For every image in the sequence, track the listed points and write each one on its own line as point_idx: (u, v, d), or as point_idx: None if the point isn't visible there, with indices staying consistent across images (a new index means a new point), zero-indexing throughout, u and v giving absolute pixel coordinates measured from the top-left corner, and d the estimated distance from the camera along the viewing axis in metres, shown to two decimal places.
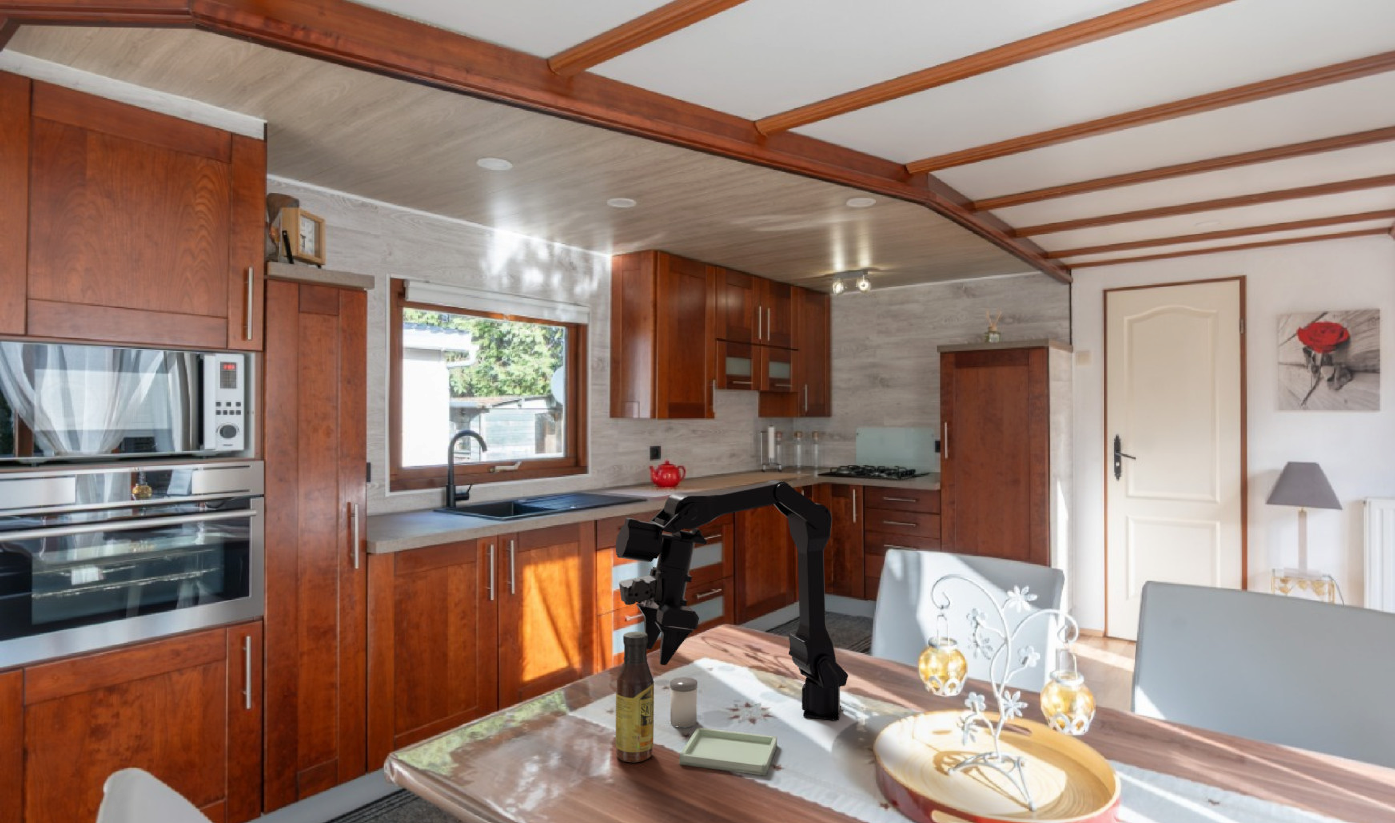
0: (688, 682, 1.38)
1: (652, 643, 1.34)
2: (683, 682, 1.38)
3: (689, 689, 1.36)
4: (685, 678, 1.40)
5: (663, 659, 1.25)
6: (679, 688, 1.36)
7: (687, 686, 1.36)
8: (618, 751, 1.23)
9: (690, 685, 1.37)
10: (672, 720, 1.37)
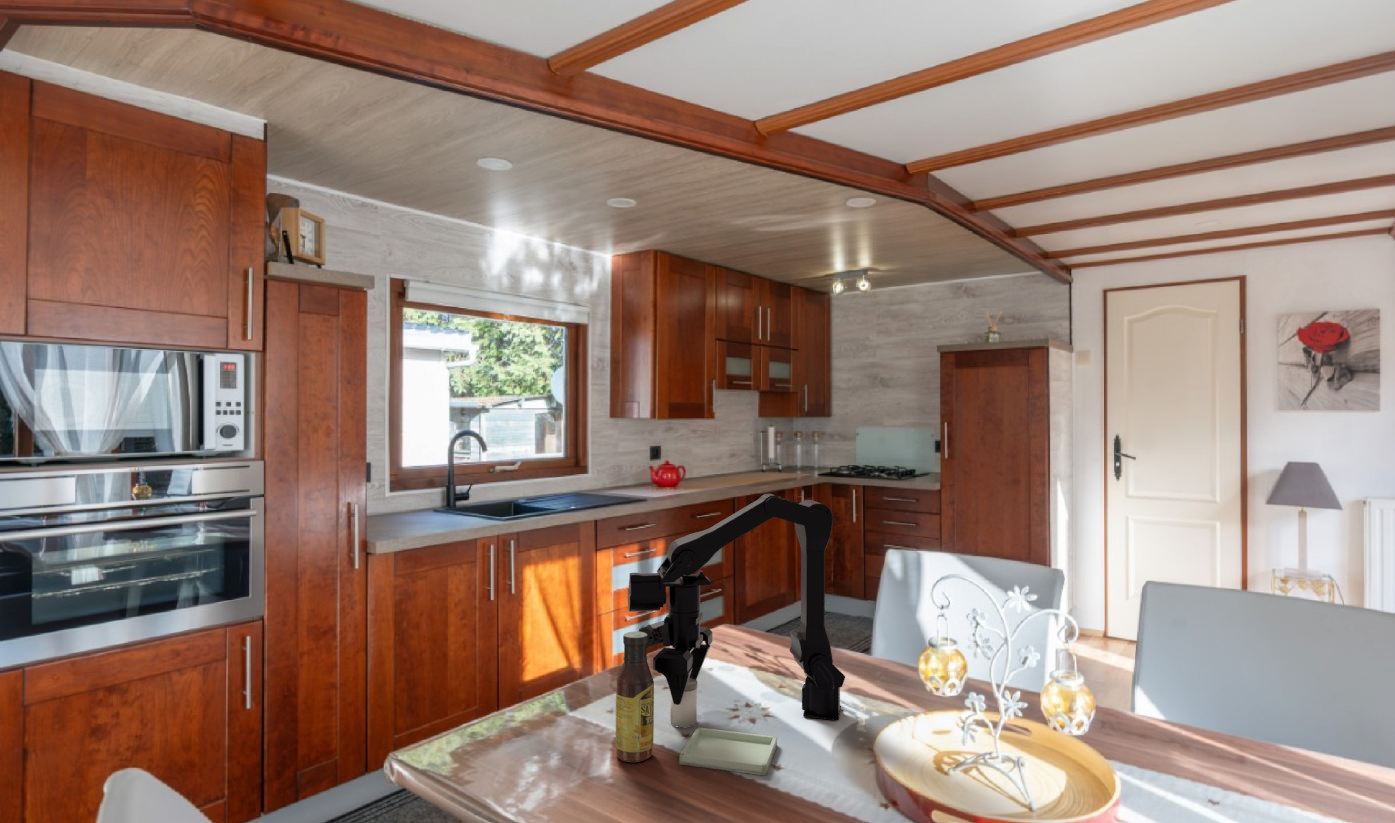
0: (688, 682, 1.38)
1: None
2: None
3: (689, 689, 1.36)
4: None
5: (675, 699, 1.33)
6: None
7: (687, 686, 1.36)
8: (618, 751, 1.23)
9: (690, 685, 1.37)
10: (672, 720, 1.37)
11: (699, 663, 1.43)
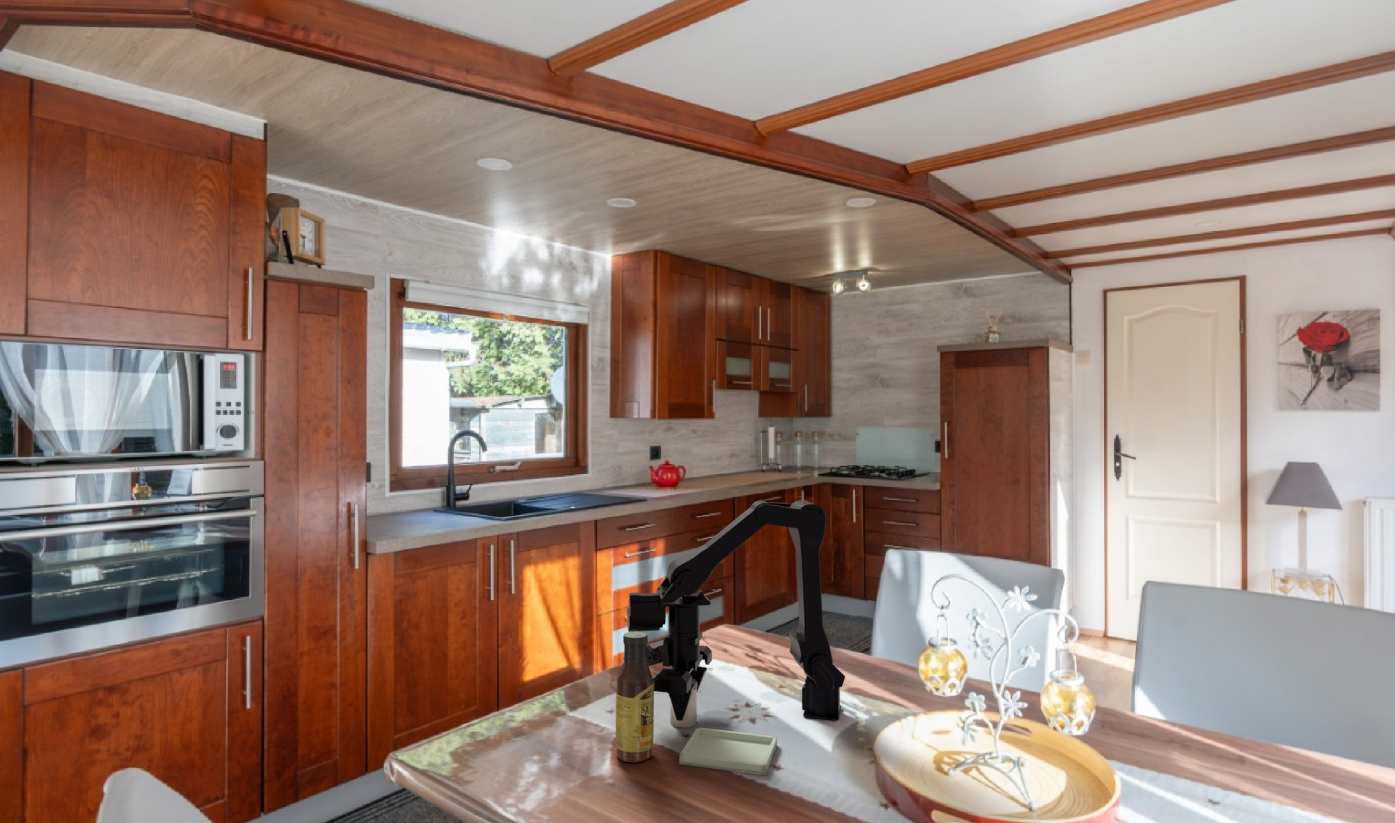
0: None
1: None
2: None
3: None
4: None
5: (677, 715, 1.35)
6: None
7: None
8: (618, 751, 1.23)
9: None
10: (672, 720, 1.37)
11: None
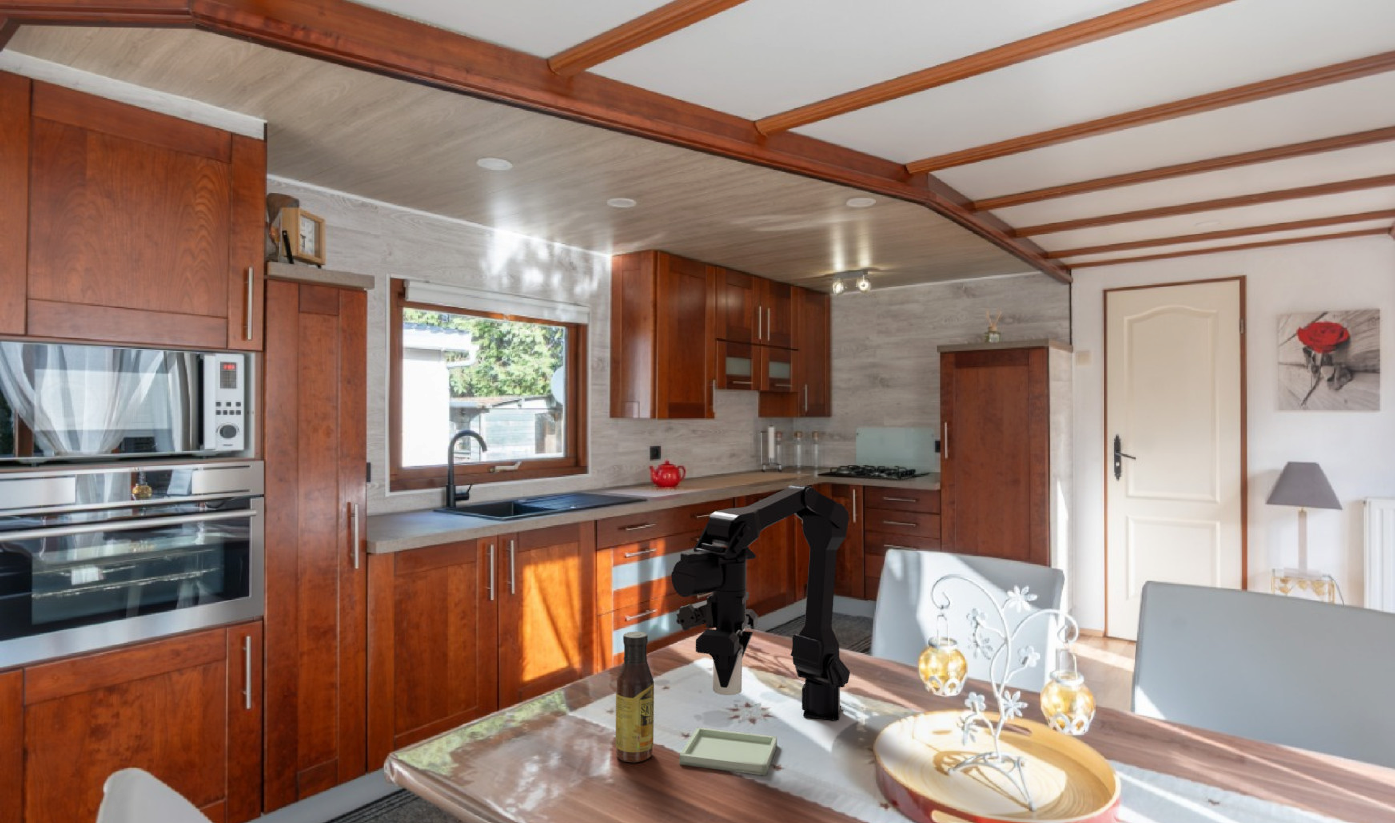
0: None
1: None
2: None
3: None
4: None
5: (722, 682, 1.23)
6: None
7: None
8: (618, 751, 1.23)
9: None
10: (715, 687, 1.25)
11: None
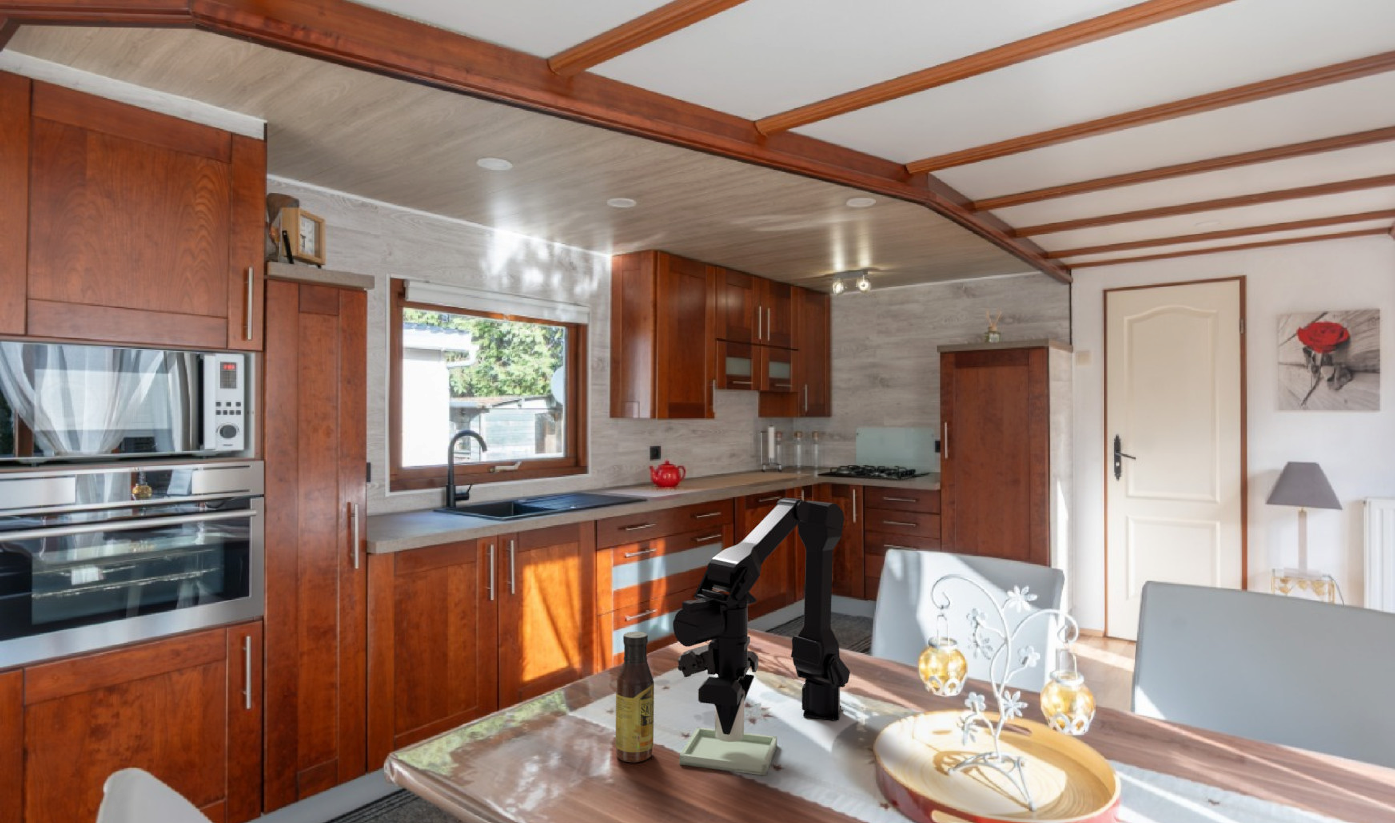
0: None
1: None
2: None
3: None
4: None
5: (724, 729, 1.22)
6: None
7: None
8: (618, 751, 1.23)
9: None
10: (717, 733, 1.24)
11: None
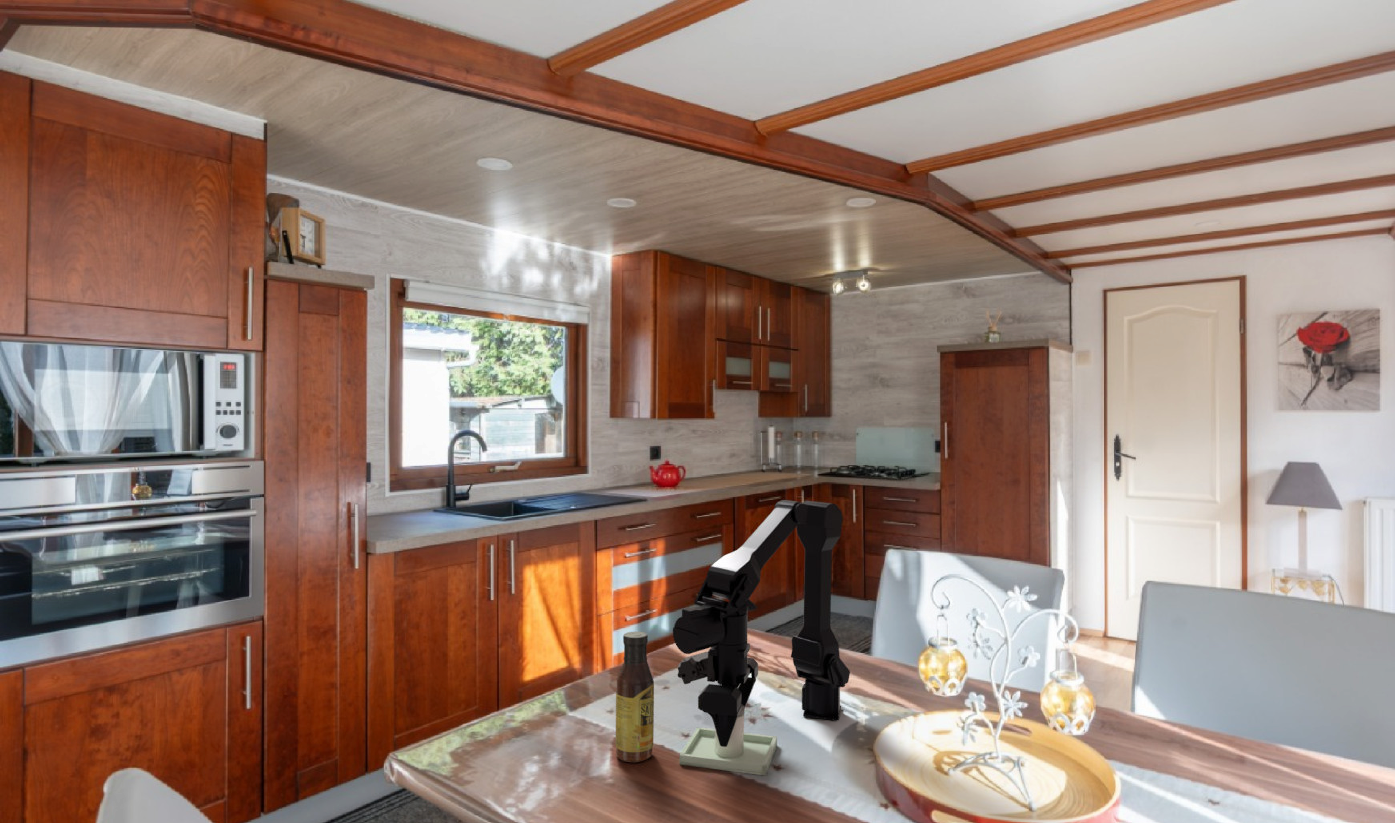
0: None
1: None
2: None
3: None
4: None
5: (721, 741, 1.20)
6: None
7: None
8: (618, 751, 1.23)
9: None
10: (717, 749, 1.24)
11: (744, 699, 1.29)
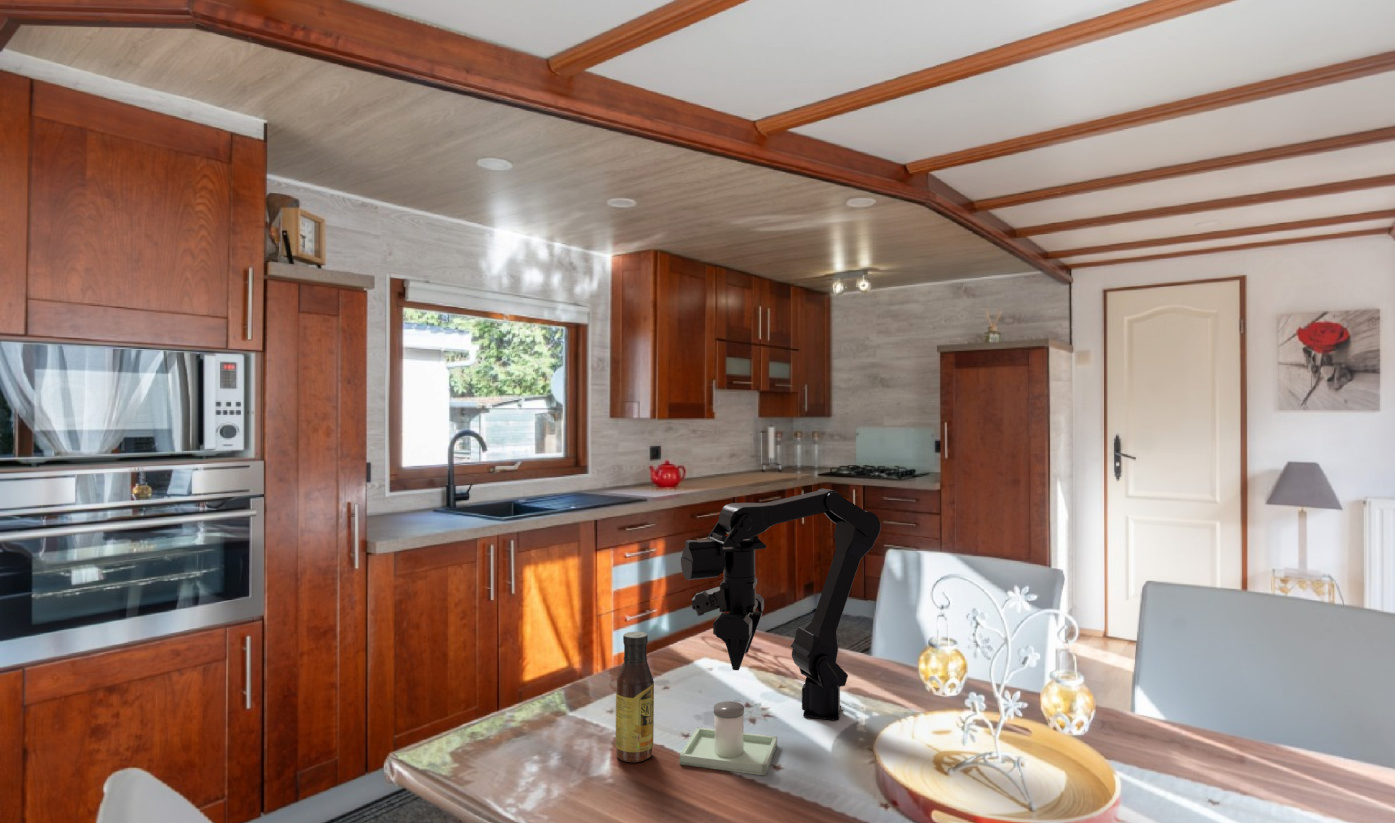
0: (734, 707, 1.25)
1: (747, 647, 1.40)
2: (728, 707, 1.25)
3: (736, 715, 1.23)
4: (730, 702, 1.27)
5: (734, 665, 1.31)
6: (725, 714, 1.23)
7: (733, 712, 1.23)
8: (618, 751, 1.23)
9: (737, 711, 1.23)
10: (717, 750, 1.24)
11: (752, 630, 1.41)
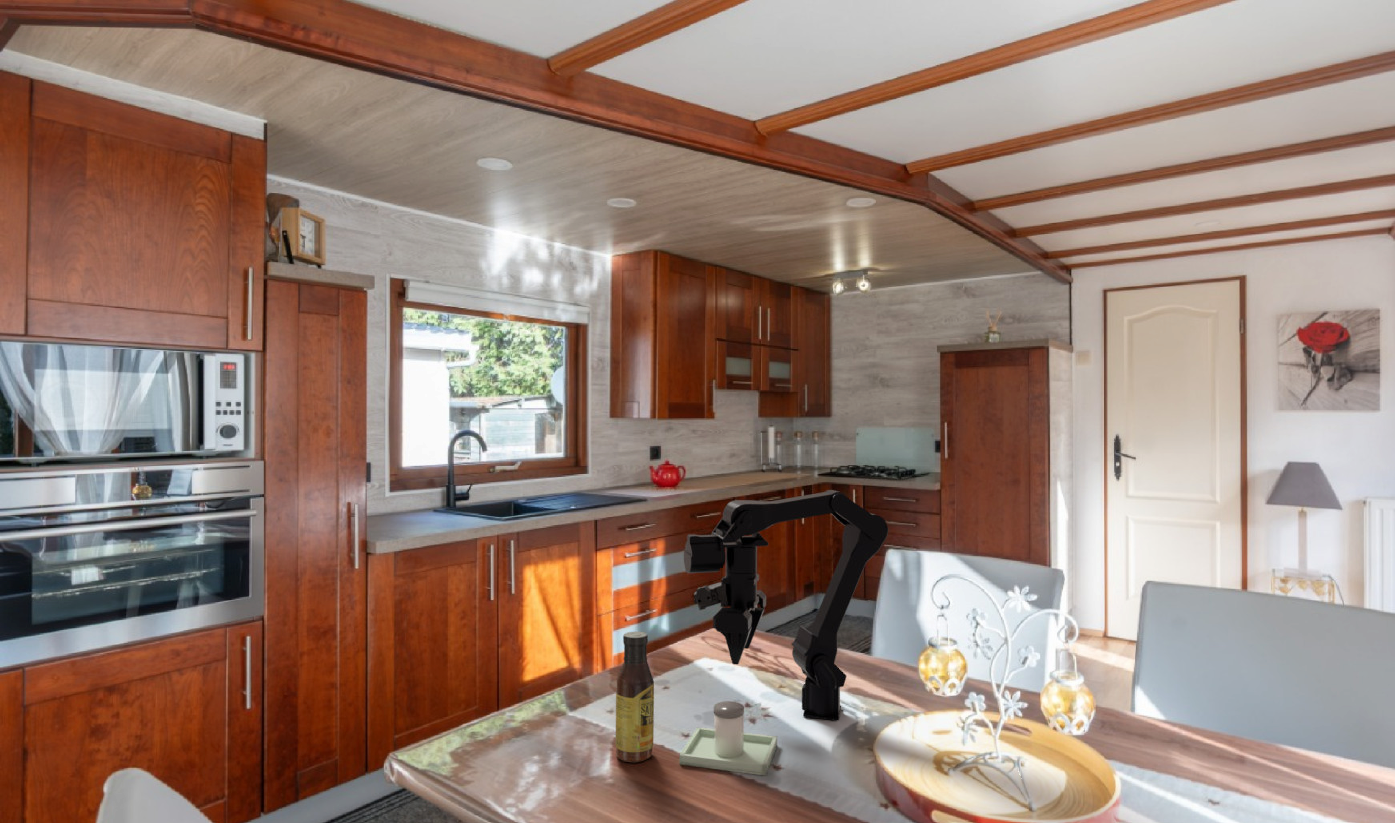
0: (733, 707, 1.25)
1: (748, 643, 1.42)
2: (728, 707, 1.25)
3: (736, 715, 1.23)
4: (729, 702, 1.27)
5: (733, 659, 1.34)
6: (725, 715, 1.23)
7: (734, 712, 1.23)
8: (618, 751, 1.23)
9: (737, 711, 1.23)
10: (717, 750, 1.24)
11: (753, 625, 1.43)
